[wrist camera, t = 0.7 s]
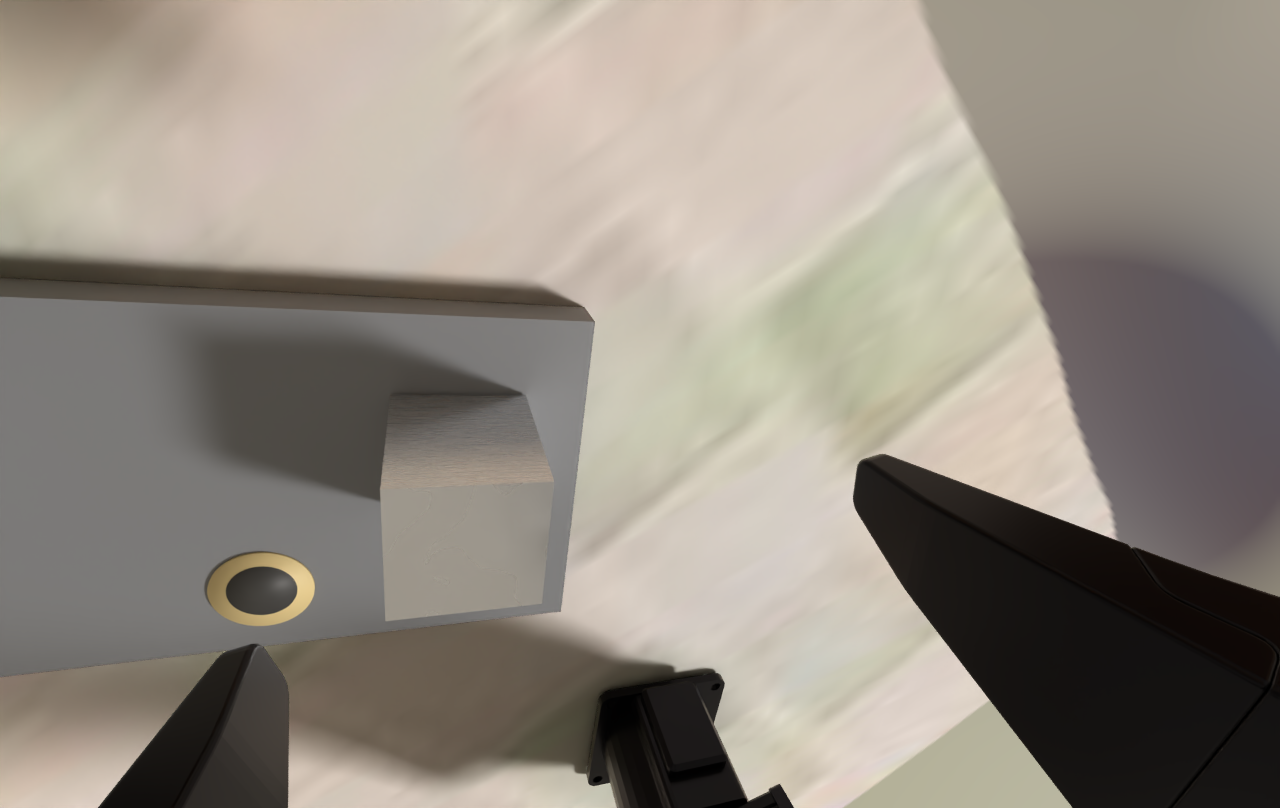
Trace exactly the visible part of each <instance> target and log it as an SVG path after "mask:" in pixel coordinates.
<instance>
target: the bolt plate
mask: <svg viewBox="0 0 1280 808" xmlns="http://www.w3.org/2000/svg"><path fill="white" fill-rule="evenodd" d="M594 325H595V321H594V320H593V319H592V317H591V316H590V314H589V313H588V312H587V310H586V309H585V307H571V306H551V305H531V304H512V303H492V302H472V301H452V300H432V299H412V298H392V297H372V296H352V295H332V294H313V293H293V292H273V291H253V290H233V289H213V288H193V287H173V286H153V285H133V284H114V283H94V282H74V281H54V280H34V279H14V278H0V677H6V676H15V675H23V674H32V673H40V672H49V671H57V670H66V669H74V668H83V667H91V666H100V665H108V664H117V663H125V662H134V661H142V660H151V659H159V658H168V657H176V656H185V655H193V654H202V653H210V652H219V651H228V650H233V649H236V648H239V647H242V646H246V645H249V644H255V643H257V644H260V645H261V646H270V645H279V644H287V643H296V642H304V641H313V640H321V639H330V638H338V637H347V636H355V635H364V634H372V633H381V632H389V631H398V630H406V629H415V628H423V627H432V626H440V625H449V624H457V623H466V622H474V621H483V620H491V619H500V618H509V617H517V616H526V615H534V614H543V613H551V612H560V611H561V604H562V596H563V587H564V579H565V571H566V562H567V554H568V545H569V537H570V528H571V520H572V511H573V503H574V494H575V486H576V477H577V469H578V461H579V452H580V444H581V435H582V427H583V418H584V410H585V401H586V393H587V384H588V376H589V367H590V359H591V350H592V342H593V334H594ZM390 395H526V397H527V400H528V403H529V406H530V409H531V412H532V415H533V418H534V421H535V424H536V427H537V431H538V434H539V437H540V440H541V443H542V446H543V449H544V452H545V455H546V458H547V461H548V464H549V467H550V470H551V473H552V476H553V479H554V489H553V499H552V509H551V519H550V529H549V539H548V549H547V559H546V569H545V579H544V589H543V599H542V604H536V605H527V606H518V607H509V608H500V609H491V610H482V611H473V612H464V613H455V614H446V615H437V616H428V617H420V618H411V619H402V620H393V621H385V599H384V574H383V550H382V525H381V500H380V486H381V476H382V467H383V458H384V448H385V439H386V430H387V421H388V411H389V402H390Z"/></svg>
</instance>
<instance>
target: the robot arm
mask: <svg viewBox="0 0 1280 808" xmlns="http://www.w3.org/2000/svg"><path fill="white" fill-rule="evenodd" d="M853 502H854V506H855V509H856V511H857V513H858V515H859V516H860V518H861V520H862V521H863V523H864V525H865V526H866V528H867V529H868V531H869V533H870V534H871V536H872V537H873V539H874V541H875V542H876V544H877V546H878V547H879V549H880V550H881V552H882V554H883V555H884V557H885V559H886V560H887V562H888V563H889V565H890V567H891V568H892V570H893V571H894V573H895V575H896V576H897V578H898V579H899V581H900V582H901V584H902V585H903V587H904V588H905V590H906V591H907V593H908V594H909V595H910V597H911V598H912V599H913V601H914V602H915V603H916V605H917V606H918V607H919V609H920V610H921V611H922V613H923V614H924V615H925V616H926V618H927V619H928V620H929V622H930V623H931V624H932V626H933V627H934V628H935V629H936V631H937V632H938V633H939V635H940V636H941V637H942V639H943V640H944V641H945V642H946V644H947V645H948V646H949V648H950V649H951V650H952V652H953V653H954V654H955V655H956V657H957V658H958V659H959V661H960V662H961V663H962V665H963V666H964V667H965V668H966V670H967V671H968V672H969V674H970V675H971V676H972V678H973V679H974V680H975V681H976V683H977V684H978V685H979V687H980V688H981V689H982V691H983V692H984V693H985V694H986V696H987V697H988V698H989V700H990V701H991V702H992V704H993V705H994V706H995V707H996V709H997V710H998V711H999V713H1000V714H1001V715H1002V717H1003V718H1004V719H1005V720H1006V722H1007V723H1008V724H1009V726H1010V727H1011V728H1012V729H1013V731H1014V732H1015V733H1016V735H1017V736H1018V737H1019V739H1020V740H1021V741H1022V743H1023V744H1024V745H1025V746H1026V748H1027V749H1028V750H1029V752H1030V753H1031V754H1032V755H1033V757H1034V758H1035V760H1036V761H1037V762H1038V763H1039V765H1040V766H1041V767H1042V769H1043V770H1044V771H1045V772H1046V774H1047V775H1048V776H1049V777H1050V779H1051V780H1052V782H1053V783H1054V784H1055V786H1056V787H1057V788H1058V789H1059V790H1060V792H1061V793H1062V795H1063V796H1064V797H1065V799H1066V800H1067V801H1068V802H1069V804H1070V805H1071V806H1072V808H1280V597H1278V596H1275V595H1272V594H1268V593H1266V592H1263V591H1259V590H1256V589H1253V588H1250V587H1247V586H1244V585H1241V584H1238V583H1235V582H1232V581H1229V580H1226V579H1223V578H1220V577H1217V576H1213V575H1210V574H1208V573H1205V572H1202V571H1199V570H1196V569H1194V568H1191V567H1188V566H1185V565H1183V564H1180V563H1177V562H1174V561H1171V560H1168V559H1165V558H1163V557H1160V556H1158V555H1155V554H1152V553H1150V552H1147V551H1144V550H1141V549H1139V548H1136V547H1133V548H1131V547H1130V546H1129V545H1128V544H1125V543H1123V542H1120V541H1117V540H1115V539H1112V538H1109V537H1106V536H1104V535H1101V534H1098V533H1096V532H1093V531H1090V530H1088V529H1085V528H1082V527H1080V526H1077V525H1074V524H1072V523H1069V522H1066V521H1064V520H1061V519H1058V518H1055V517H1053V516H1050V515H1047V514H1045V513H1042V512H1039V511H1037V510H1034V509H1031V508H1029V507H1026V506H1023V505H1021V504H1018V503H1015V502H1013V501H1010V500H1007V499H1004V498H1002V497H999V496H996V495H994V494H991V493H988V492H986V491H983V490H980V489H978V488H975V487H972V486H970V485H967V484H964V483H962V482H959V481H956V480H953V479H951V478H948V477H945V476H943V475H940V474H937V473H935V472H932V471H929V470H927V469H924V468H921V467H919V466H916V465H913V464H911V463H908V462H905V461H902V460H900V459H897V458H894V457H892V456H889V455H886V454H879V455H876V456H872V457H869V458H866V459H863V460H861V461H860V462H859V464H858V466H857V472H856V479H855V486H854V493H853ZM724 684H725V683H724V681H723V679H722V677H721V675H720V674H718V673H713V674H707V675H701V676H695V677H689V678H683V679H677V680H671V681H665V682H659V683H653V684H647V685H641V686H635V687H629V688H623V689H617V690H611V691H607V692H605V693H603V694H602V695H601V696H600V698H599V701H598V707H597V713H596V719H595V725H594V731H593V737H592V744H591V750H590V756H589V762H588V768H587V779H588V783H589V784H590V785H592V786H597V785H601V784H606V783H610V784H611V787H612V791H613V795H614V799H615V802H616V806H617V808H794V807H793V805H792V804H791V802H790V800H789V799H788V797H787V795H786V793H785V792H784V790H783V788H782V787H781V785H780V784H778V785H776V786H774V787H772V788H770V789H769V792H767V793H765V794H763V795H761V796H758V797H756V798H754V799H752V800H750V801H748V799H747V796H746V794H745V792H744V790H743V788H742V785H741V783H740V781H739V779H738V777H737V774H736V772H735V770H734V768H733V765H732V763H731V761H730V759H729V757H728V754H727V752H726V750H725V748H724V746H723V743H722V741H721V739H720V737H719V734H718V732H717V730H716V728H715V726H714V720H715V717H716V713H717V710H718V706H719V703H720V699H721V696H722V692H723V689H724ZM288 754H289V692H288V686H287V683H286V680H285V678H284V676H283V675H282V673H281V672H280V670H279V669H278V667H277V666H276V664H275V663H274V662H273V660H272V659H271V657H270V656H269V654H268V653H267V651H266V650H265V649H264V648H263V646H261V645H260V644H257V643H255V644H249V645H246V646H242V647H239V648H236V649H233V650H229V651H227V652H225V653H223V654H222V655H220V656H219V657H218V658H217V660H216V661H215V662H214V663H213V664H212V666H211V667H210V668H209V669H208V671H207V672H206V673H205V674H204V676H203V677H202V678H201V679H200V681H199V682H198V683H197V684H196V686H195V687H194V688H193V689H192V691H191V692H190V693H189V694H188V696H187V697H186V698H185V699H184V701H183V702H182V703H181V704H180V706H179V707H178V708H177V709H176V711H175V712H174V713H173V714H172V716H171V717H170V718H169V719H168V721H167V722H166V723H165V724H164V726H163V727H162V728H161V729H160V731H159V732H158V733H157V735H156V736H155V737H154V738H153V740H152V741H151V742H150V743H149V745H148V746H147V747H146V748H145V750H144V751H143V752H142V753H141V755H140V756H139V757H138V758H137V760H136V761H135V762H134V763H133V765H132V766H131V767H130V768H129V770H128V771H127V772H126V773H125V775H124V776H123V777H122V778H121V780H120V781H119V782H118V783H117V785H116V786H115V787H114V788H113V790H112V791H111V792H110V793H109V795H108V796H107V797H106V798H105V800H104V801H103V802H102V803H101V805H100V806H99V807H98V808H288Z"/></svg>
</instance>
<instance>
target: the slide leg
mask: <svg viewBox="0 0 1280 808" xmlns="http://www.w3.org/2000/svg"><path fill="white" fill-rule="evenodd" d="M553 489H554V479H553V476H552V473H551V470H550V467H549V464H548V461H547V458H546V455H545V452H544V449H543V446H542V443H541V440H540V437H539V434H538V431H537V427H536V424H535V421H534V418H533V415H532V412H531V409H530V406H529V403H528V400H527V397H526V395H390V402H389V411H388V421H387V430H386V439H385V448H384V458H383V467H382V476H381V486H380V500H381V525H382V550H383V574H384V599H385V621H393V620H402V619H411V618H420V617H428V616H437V615H446V614H455V613H464V612H473V611H482V610H491V609H500V608H509V607H518V606H527V605H536V604H542V599H543V589H544V579H545V569H546V559H547V549H548V539H549V529H550V519H551V509H552V499H553Z"/></svg>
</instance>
